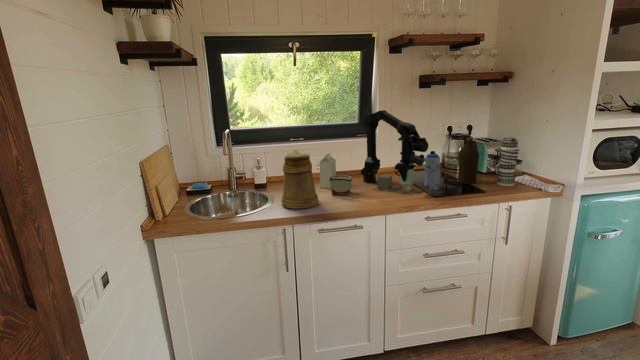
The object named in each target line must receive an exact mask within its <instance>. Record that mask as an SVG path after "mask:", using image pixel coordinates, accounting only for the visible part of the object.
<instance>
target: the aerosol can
mask: <svg viewBox="0 0 640 360" xmlns="http://www.w3.org/2000/svg"><path fill="white" fill-rule="evenodd" d="M424 158H425V161H424V182H423V183H424V184H423V185H424V186H425V187H428V188H426V190H428V189H430V190H431V191H435V190H439V189H440V187H439V186H440V170H441V169H440V166H441V157H440V156H439V154H437V153H436V151H434V150H431V151H430V153H428V154H427V155H426V156H425V157H424ZM430 190H429V191H430Z"/></svg>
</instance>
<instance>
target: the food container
mask: <svg viewBox="0 0 640 360" xmlns="http://www.w3.org/2000/svg"><path fill="white" fill-rule="evenodd" d="M329 181H330V184H331V188H330V190H331V196H332V197H340V198H341V197H342V198H351V186H352V182H353V179H352V176H350V175H345V174H342V175H341V174H336V176H331V177H330V178H329Z"/></svg>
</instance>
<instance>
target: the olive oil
mask: <svg viewBox="0 0 640 360" xmlns="http://www.w3.org/2000/svg"><path fill="white" fill-rule="evenodd" d="M465 141H466V142H465V145H464V146H463V147H462V148H461V149H460V150H459V151H458V155H457V158H458V159H457V162H458V164H457V167H458V168H457V182H458V183H461V184H464V185H466V184H467V185H470V184H475V183H477V175H478V168H479V166H478V165H479V159H480V153H479V150H478V149H477V148H476V147H475V146H474V144H473V143H474V139H473V137H470V136H469V137H466V140H465Z"/></svg>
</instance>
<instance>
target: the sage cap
mask: <svg viewBox="0 0 640 360" xmlns="http://www.w3.org/2000/svg"><path fill="white" fill-rule="evenodd" d="M414 183H415V169H413V170H411V169H410V170H409V171H408V172H407V177H406V181H405V182H404V181H403V179H402V177H401V175H400V174H399V184H400V185H403V184H407V185H413V184H414Z"/></svg>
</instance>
